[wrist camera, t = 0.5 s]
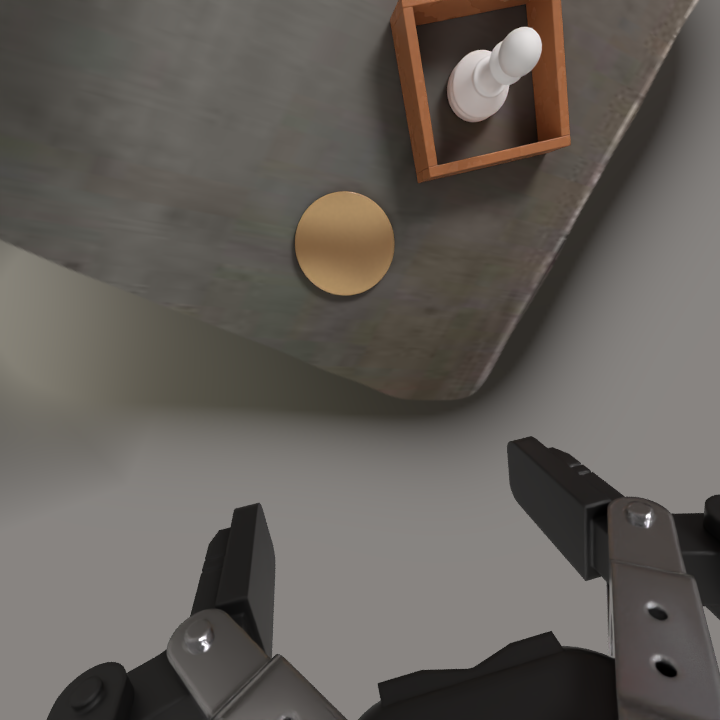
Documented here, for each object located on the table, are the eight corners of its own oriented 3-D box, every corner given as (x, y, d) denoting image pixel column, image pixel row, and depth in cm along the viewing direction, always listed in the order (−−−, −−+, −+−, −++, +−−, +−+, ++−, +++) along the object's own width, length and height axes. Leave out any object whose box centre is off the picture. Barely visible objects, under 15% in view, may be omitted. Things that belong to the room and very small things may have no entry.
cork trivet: (282, 204, 36) (282, 204, 36) (381, 181, 37) (383, 181, 36) (309, 305, 39) (309, 306, 38) (401, 281, 40) (403, 282, 39)
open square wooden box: (389, 19, 34) (400, -5, 30) (533, -9, 35) (559, -36, 32) (417, 183, 38) (430, 177, 34) (546, 153, 39) (571, 144, 35)
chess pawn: (496, 125, 37) (558, 90, 29) (443, 120, 36) (490, 82, 28) (504, 61, 36) (571, 4, 27) (448, 53, 35) (500, -7, 27)
